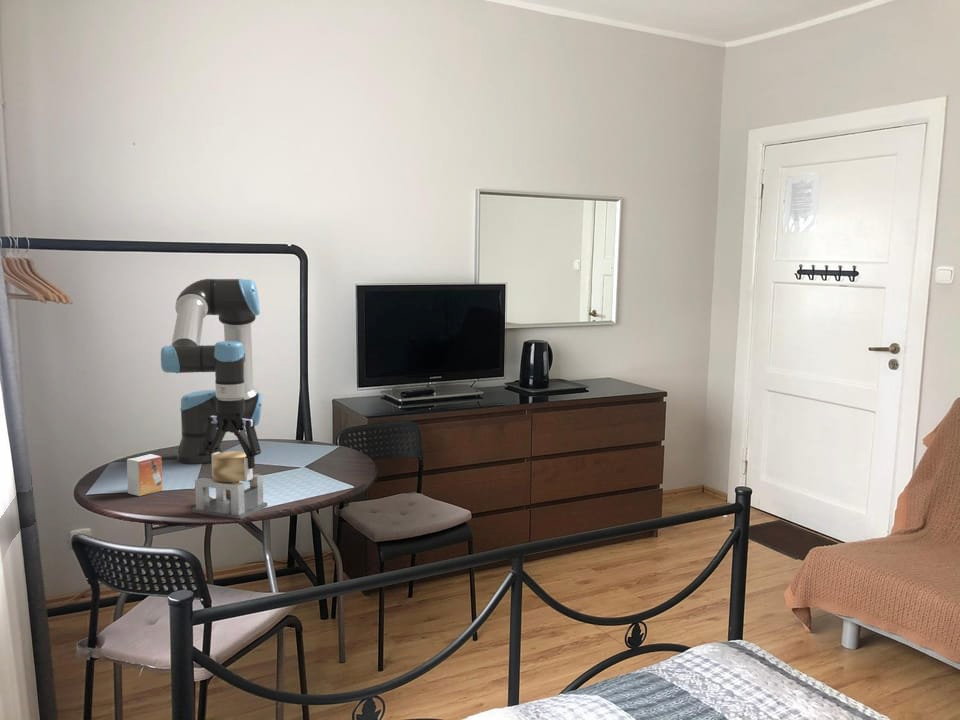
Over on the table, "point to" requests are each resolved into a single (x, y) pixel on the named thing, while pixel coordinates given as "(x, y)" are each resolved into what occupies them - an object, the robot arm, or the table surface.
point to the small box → (144, 474)
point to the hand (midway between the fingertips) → (232, 477)
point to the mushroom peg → (228, 468)
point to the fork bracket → (240, 501)
